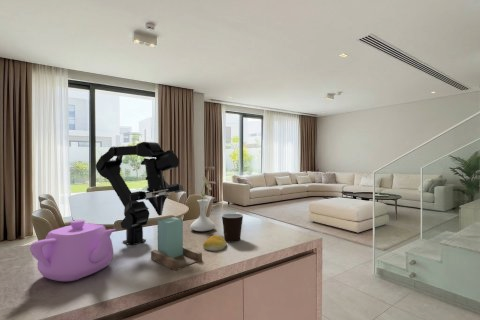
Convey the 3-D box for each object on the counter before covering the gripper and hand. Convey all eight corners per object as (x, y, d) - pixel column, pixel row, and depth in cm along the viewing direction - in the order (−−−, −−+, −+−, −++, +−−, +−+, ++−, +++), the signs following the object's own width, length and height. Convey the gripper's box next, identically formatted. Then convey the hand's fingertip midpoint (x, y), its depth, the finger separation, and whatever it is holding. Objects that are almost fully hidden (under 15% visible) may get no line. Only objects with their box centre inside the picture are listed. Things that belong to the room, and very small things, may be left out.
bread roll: (200, 251, 94) (200, 240, 94) (208, 243, 103) (208, 233, 103) (222, 252, 93) (222, 241, 93) (228, 244, 102) (228, 234, 102)
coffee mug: (238, 244, 101) (238, 218, 101) (218, 241, 104) (218, 216, 104) (247, 235, 112) (247, 212, 112) (228, 233, 115) (228, 211, 115)
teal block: (157, 255, 88) (157, 220, 88) (173, 250, 93) (172, 217, 93) (167, 259, 84) (167, 223, 84) (182, 254, 89) (182, 219, 88)
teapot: (11, 285, 68) (10, 228, 68) (85, 257, 88) (84, 212, 88) (71, 303, 60) (70, 238, 60) (137, 267, 80) (137, 218, 80)
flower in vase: (213, 233, 115) (213, 177, 115) (187, 233, 115) (187, 177, 115) (216, 225, 128) (216, 175, 128) (193, 225, 128) (193, 175, 128)
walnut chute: (151, 258, 87) (150, 250, 87) (177, 250, 95) (177, 243, 95) (174, 270, 77) (174, 262, 77) (201, 260, 85) (201, 252, 85)
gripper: (184, 171, 106) (190, 209, 103) (140, 180, 107) (145, 218, 104) (175, 168, 95) (182, 210, 92) (126, 178, 96) (131, 220, 93)
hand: (160, 215), depth 96 cm, fingers closed
